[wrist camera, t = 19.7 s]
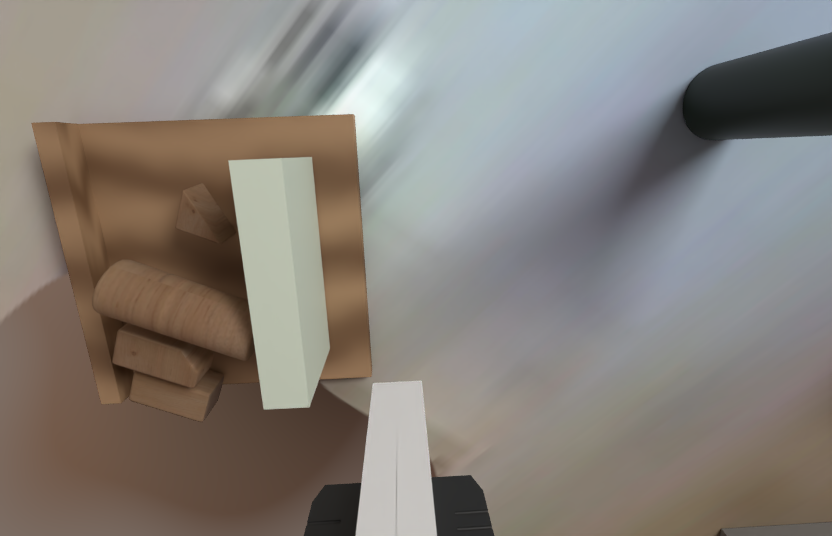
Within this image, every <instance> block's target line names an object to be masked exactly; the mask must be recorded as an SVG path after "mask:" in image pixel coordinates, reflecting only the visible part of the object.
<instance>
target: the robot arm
mask: <svg viewBox="0 0 832 536" xmlns="http://www.w3.org/2000/svg"><path fill="white" fill-rule="evenodd" d="M307 522H308V523H307V526H306V529H305V534H304V536H494V533H493V529H492V525H491V521H490V517H489V513H488V509H487V505H486V501H485V497H484V493H483V490H482V489H481V488H480V486H479V485H478V484H477V483H476V481H475V480H474V479H473V478H472V476H471V475H467V476H449V477H432V478H431V470H430V460H429V449H428V439H427V429H426V419H425V409H424V399H423V388H422V381H406V382H387V383H373V387H372V396H371V405H370V413H369V422H368V432H367V440H366V448H365V458H364V467H363V475H362V483H353V484H337V485H325V486H324V487H323V489H322V490H321V491H320V493H319V494H318V495H317V497H316V498H315V499H314V501H313V502H312V505H311V510H310V513H309V517H308V521H307Z"/></svg>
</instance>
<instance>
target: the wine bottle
mask: <svg viewBox="0 0 832 536" xmlns="http://www.w3.org/2000/svg"><path fill="white" fill-rule="evenodd" d="M683 115H684V119H685V122H686V124H687V126H688V127H689V129H690V130H691V131H692V132H693V133H694V134H695V135H697V136H698V137H700V138H703V139H707V140H727V139H752V138H777V137H802V136H827V135H832V32H831V33H828V34H824V35H821V36H817V37H813V38H810V39H806V40H803V41H799V42H795V43H792V44H788V45H785V46H781V47H777V48H774V49H770V50H767V51H763V52H759V53H756V54H752V55H749V56H745V57H741V58H738V59H734V60H731V61H727V62H723V63H720V64H716V65H713V66H710V67H708V68H707V69H705V70H703V71H702V72H701V73H699V74H698V75H697V76H696V77H695V78H694V80H693V81H692V82H691V84H690V85H689V87H688V89H687V91H686V94H685V97H684V102H683Z"/></svg>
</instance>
